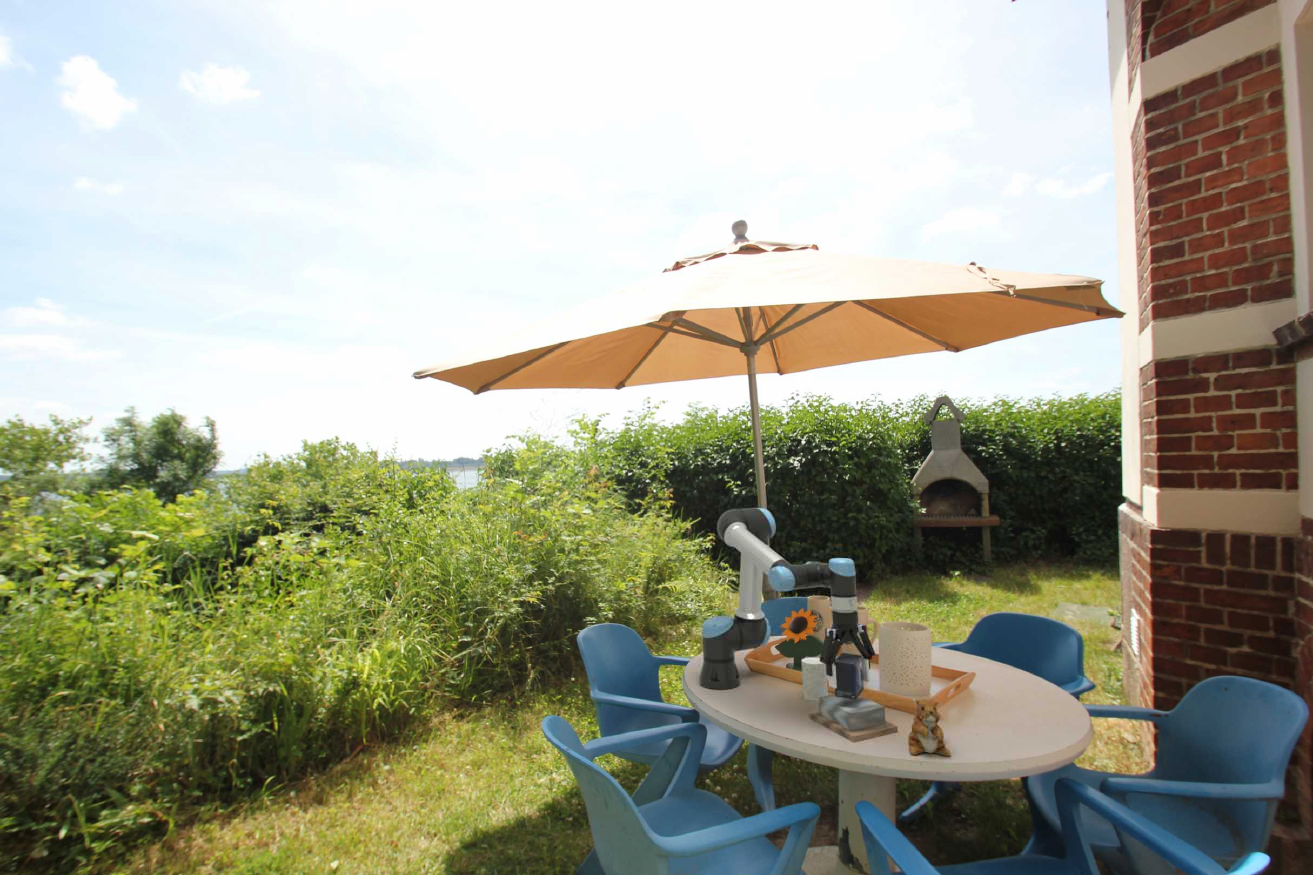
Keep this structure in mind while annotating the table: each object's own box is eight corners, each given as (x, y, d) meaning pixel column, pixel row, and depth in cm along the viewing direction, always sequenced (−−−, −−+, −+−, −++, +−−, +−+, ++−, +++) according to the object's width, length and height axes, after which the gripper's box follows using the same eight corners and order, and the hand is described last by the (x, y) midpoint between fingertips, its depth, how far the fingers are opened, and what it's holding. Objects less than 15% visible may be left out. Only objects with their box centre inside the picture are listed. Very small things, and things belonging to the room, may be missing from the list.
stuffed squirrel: (910, 756, 151) (906, 704, 152) (903, 734, 164) (900, 687, 166) (952, 760, 148) (948, 707, 150) (942, 737, 162) (938, 689, 163)
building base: (809, 717, 179) (808, 695, 180) (850, 708, 185) (849, 687, 186) (853, 741, 161) (851, 717, 161) (897, 731, 167) (896, 708, 167)
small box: (857, 700, 167) (854, 663, 169) (834, 697, 171) (832, 660, 172) (865, 689, 176) (862, 654, 177) (843, 686, 180) (841, 651, 181)
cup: (800, 699, 195) (798, 662, 196) (806, 691, 202) (804, 656, 204) (825, 702, 191) (823, 665, 193) (830, 694, 198) (828, 658, 200)
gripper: (820, 616, 168) (824, 693, 166) (884, 608, 177) (889, 681, 175) (804, 611, 175) (808, 686, 173) (867, 604, 184) (871, 674, 182)
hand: (849, 683), depth 174 cm, fingers closed on small box, 12 cm apart
